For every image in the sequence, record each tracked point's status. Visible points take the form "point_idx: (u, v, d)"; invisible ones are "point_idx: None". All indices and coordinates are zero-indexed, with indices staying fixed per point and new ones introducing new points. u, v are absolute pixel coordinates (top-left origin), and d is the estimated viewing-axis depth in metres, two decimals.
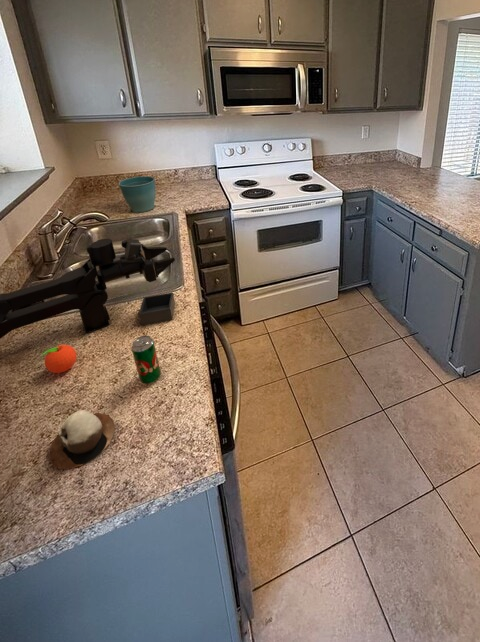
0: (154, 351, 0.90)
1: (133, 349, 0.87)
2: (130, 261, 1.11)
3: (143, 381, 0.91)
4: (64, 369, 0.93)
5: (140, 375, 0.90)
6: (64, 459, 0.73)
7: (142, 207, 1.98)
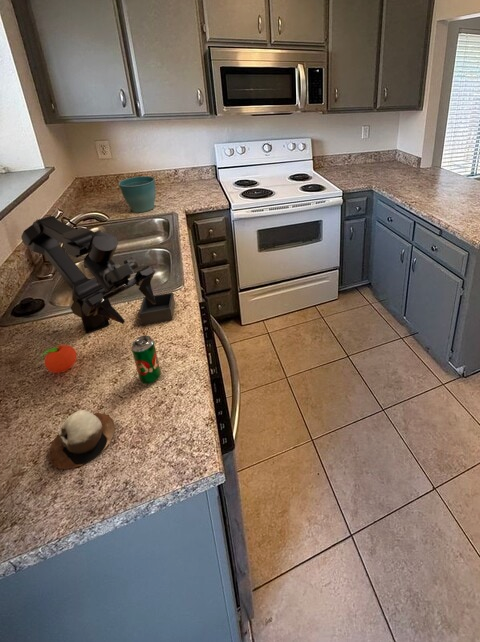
0: (154, 351, 0.90)
1: (133, 349, 0.87)
2: (104, 278, 0.94)
3: (143, 381, 0.91)
4: (64, 369, 0.93)
5: (140, 375, 0.90)
6: (64, 459, 0.73)
7: (142, 207, 1.98)
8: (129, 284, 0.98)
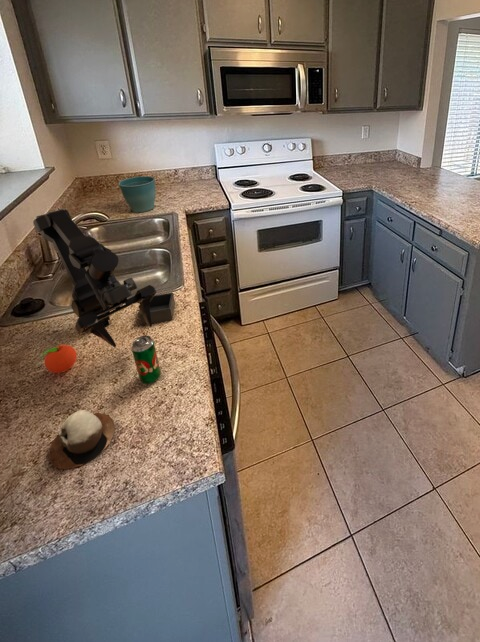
0: (154, 351, 0.90)
1: (133, 349, 0.87)
2: (101, 296, 0.90)
3: (143, 381, 0.91)
4: (64, 369, 0.93)
5: (140, 375, 0.90)
6: (64, 459, 0.73)
7: (142, 207, 1.98)
8: (127, 303, 0.94)
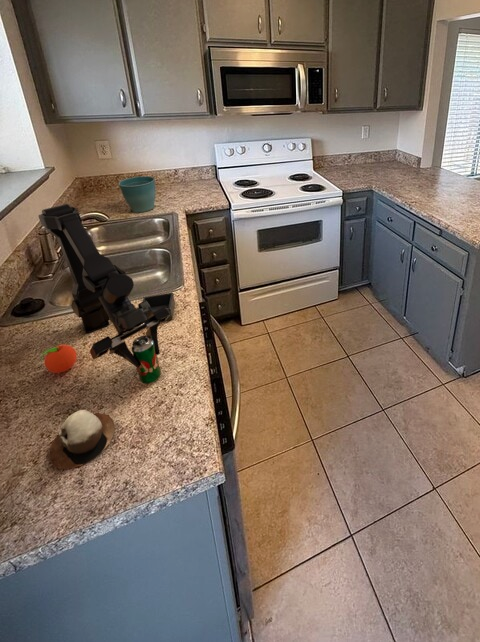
0: (154, 351, 0.90)
1: (133, 349, 0.87)
2: (116, 321, 0.88)
3: (144, 381, 0.91)
4: (64, 369, 0.93)
5: (140, 375, 0.90)
6: (64, 459, 0.73)
7: (142, 207, 1.98)
8: (134, 330, 0.91)
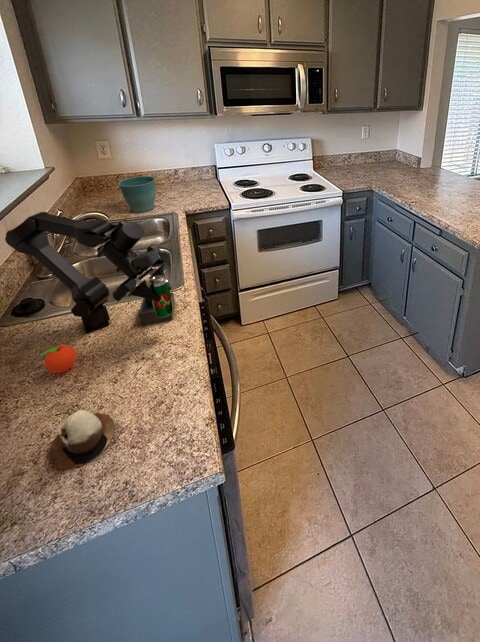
0: None
1: (153, 285, 0.99)
2: (130, 265, 0.97)
3: (163, 314, 1.03)
4: (64, 369, 0.93)
5: (159, 309, 1.02)
6: (64, 459, 0.73)
7: (142, 207, 1.98)
8: (144, 273, 1.02)
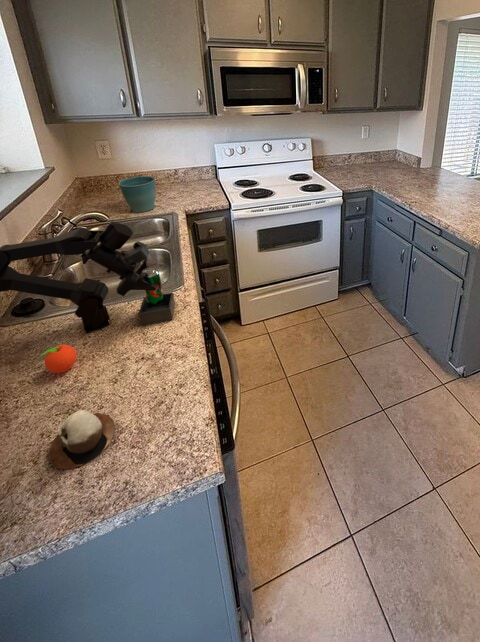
0: None
1: (149, 276, 1.10)
2: (124, 262, 1.06)
3: (158, 302, 1.14)
4: (64, 369, 0.93)
5: (155, 298, 1.13)
6: (64, 459, 0.73)
7: (142, 207, 1.98)
8: None
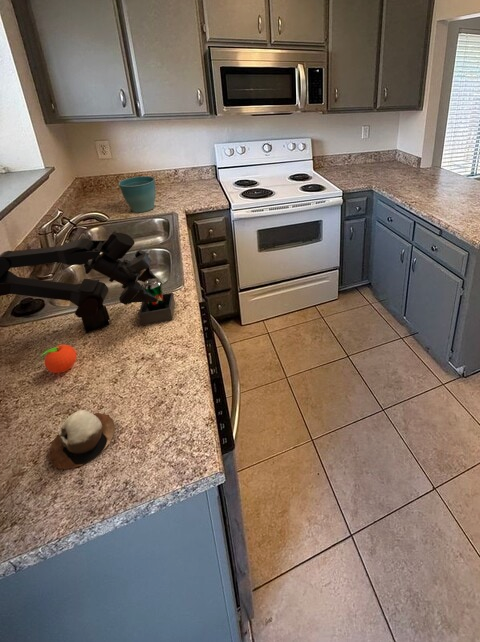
0: None
1: (151, 287, 1.11)
2: (127, 271, 1.07)
3: None
4: (64, 369, 0.93)
5: (157, 309, 1.14)
6: (64, 459, 0.73)
7: (142, 207, 1.98)
8: (137, 275, 1.13)
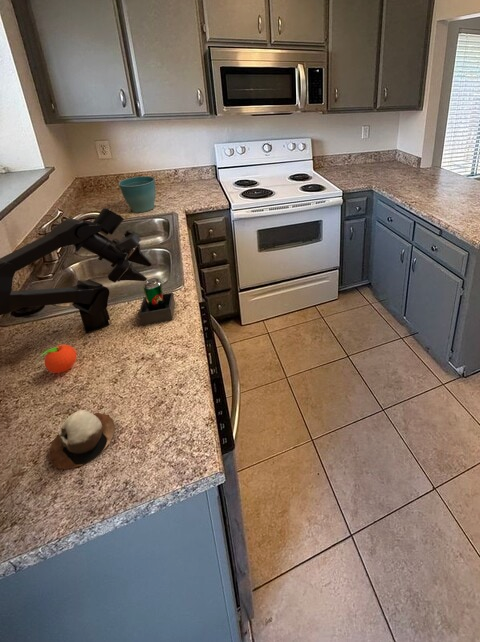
0: None
1: (151, 287, 1.11)
2: (116, 249, 1.08)
3: None
4: (64, 369, 0.93)
5: (157, 309, 1.14)
6: (64, 459, 0.73)
7: (142, 207, 1.98)
8: None
